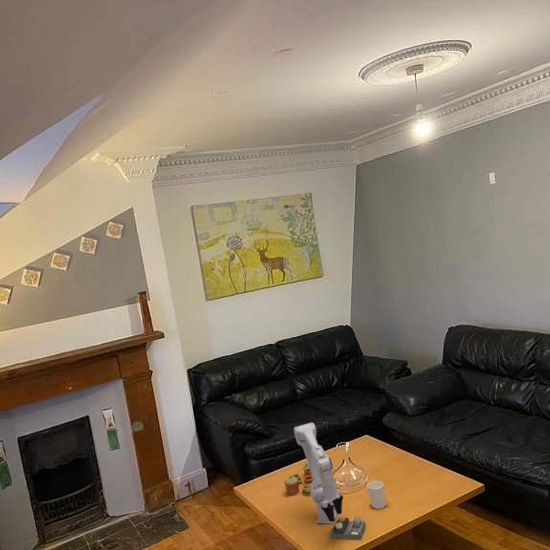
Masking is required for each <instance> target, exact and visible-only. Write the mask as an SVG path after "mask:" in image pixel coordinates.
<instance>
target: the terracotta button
mask: <svg viewBox="0 0 550 550" xmlns="http://www.w3.org/2000/svg"><path fill="white" fill-rule="evenodd" d="M345 518H346V516H344V515H341V516H338V518H337V520H338V519H339V522H340V523H346V519H345Z"/></svg>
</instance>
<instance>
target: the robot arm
mask: <svg viewBox="0 0 550 550" xmlns="http://www.w3.org/2000/svg"><path fill="white" fill-rule="evenodd" d="M293 433H294V436H295V437H294V438H295V441H296V443H297V445H298V446H301V447H302V448H303V452H304V456H305V457H306V458H305V459H306V462H307V464H308V465H309V468H310V472H311V475H312V478H313V482H312V483H311V485H310V493H311V495H310V497H311V501H312V502H313V503H314V504H315V505H316V506H315V507H316V510H317V517H318V518H317V520H316V522H315V523H316V524H334V523H335V521H336V517H337V515H341V514H342V513H343V508H342V507H343V499H344V495H341V489H337V487H336V483H335V478H334V474H333V473H334V472H333V469H334V466H333V462H332V459H331V457H330V456H329V455H328V454H326V452H325V450H324V449H323V446H322V445H320V444H318V441H317V439H316V438H317V427H316V425H315V423H313V422H312V421H311V422H310V423H309V422H308V423H305V424H301V425H299V426H294V428H293ZM314 487H315V488H314Z"/></svg>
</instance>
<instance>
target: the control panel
mask: <svg viewBox="0 0 550 550" xmlns="http://www.w3.org/2000/svg"><path fill="white" fill-rule="evenodd" d="M345 519H346V523H342V525H343V529H342V530H338V529H336V525H335V524H336V523H338V522H339V519H338V518H337V520H334V523H333V526H332V528H331V530H330V532H329V536H330V539H341V540H342V539H343V540H344V539H345V540H359V539H361V538H362V537H363V536H364V533H365V531H366V528H365V527H367V525H366V521H365V520H363V519H362V523H361V526H360V527H354V525H353V520H352V521H350V519H349V517H345ZM363 532H364V533H363ZM362 535H363V536H362ZM362 539H363V538H362ZM362 539H361V540H362Z"/></svg>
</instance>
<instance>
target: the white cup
mask: <svg viewBox="0 0 550 550" xmlns="http://www.w3.org/2000/svg"><path fill="white" fill-rule="evenodd" d="M366 488H367V491H368V492H367V493H368V497H369V501H370V504H371V507H372V508H373V509H375V510H376V509H379V510H380V509H384V507H386V505H387V501H386V492H385V484H384V482H382V481H380V480H372V481H370V482H368V483H367V484H366Z"/></svg>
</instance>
